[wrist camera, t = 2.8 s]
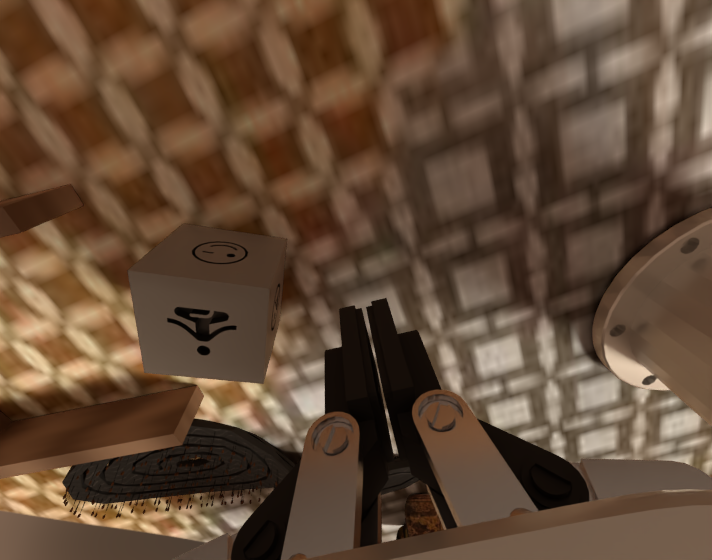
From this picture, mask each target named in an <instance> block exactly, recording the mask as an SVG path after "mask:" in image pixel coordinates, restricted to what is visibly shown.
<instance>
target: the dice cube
mask: <svg viewBox="0 0 712 560" xmlns="http://www.w3.org/2000/svg"><path fill="white" fill-rule="evenodd" d="M286 245H287V239H284V238H278V237H271V236H264V235H257V234H251V233H244V232H237V231H230V230H224V229H217V228H210V227H203V226H197V225H190V224H182V225H181V226H180V227H179V228H177V229H176V230H175V231H174V232H173V233H171V234H170V235H169V236H168V237H167V238H165V239H164V240H163V241H162V242H161V243H159V244H158V245H157V246H156V247H155V248H153V249H152V250H151V251H150V252H149V253H148V254H146V255H145V256H144V257H143V258H142V259H140V260H139V261H138V262H137V263H136V264H134V265H133V266H132V267H131V268H130V269H128V270H127V271H128V277H129V283H130V289H131V295H132V301H133V307H134V313H135V319H136V325H137V331H138V337H139V343H140V349H141V355H142V361H143V367H144V373H152V374H163V375H174V376H185V377H196V378H207V379H217V380H228V381H239V382H250V383H261V384H263V383H264V379H265V375H266V371H267V367H268V364H269V360H270V356H271V352H272V348H273V344H274V340H275V337H276V333H277V329H278V325H279V321H280V314H281V302H282V291H283V279H284V268H285V257H286Z"/></svg>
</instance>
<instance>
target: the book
mask: <svg viewBox="0 0 712 560" xmlns="http://www.w3.org/2000/svg"><path fill="white" fill-rule="evenodd" d="M405 516H406V518H405V521H406V524H405V525H403V526H402V527H400V528H399V530H398V533H397V537H396V540H399V539H404V538H408V537H413V536H418V535H423V534H428V533H433V532H438V531H443V530H444V529H443V526H442V524H441V521H440V519H439V517H438V514H437V512H436V510H435V507H434V505H433V502H432V500H431V498H430V495H429V494H415V495H410V496H409V497H408V498H407V501H406V504H405Z"/></svg>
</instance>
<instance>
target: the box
mask: <svg viewBox="0 0 712 560" xmlns="http://www.w3.org/2000/svg"><path fill="white" fill-rule="evenodd" d="M82 206H84V205H83V203H82V202H81V200H80V198H79V197H78V195H77V194H76V192H75V191H74V189H73V187H72V186H71V184H69V185H65V186H61V187H57V188H53V189H49V190H45V191H41V192H37V193H32V194H28V195H24V196H20V197H16V198H12V199H8V200H4V201H0V237H4V236H8V235H13V234H17V233H21V232H24V231H26V230H28V229H31V228H33V227H35V226H38V225H40V224H42V223H44V222H47V221H49V220H51V219H54V218H56V217H58V216H61V215H63V214H65V213H68V212H70V211H72V210H75V209H77V208H79V207H82ZM203 397H204V395H203V394H202V392H201V390H200V389H199V387H198V386H197V385H196V386H191V387H186V388H181V389H176V390H171V391H166V392H161V393H156V394H151V395H146V396H140V397H135V398H130V399H125V400H120V401H115V402H110V403H105V404H100V405H95V406H90V407H85V408H79V409H74V410H69V411H64V412H59V413H54V414H49V415H44V416H39V417H34V418H29V419H24V420H18V421H13V422H12V421H11V420H9V419H8V418H7V417H6V416H5V415H4V414H3V413H2V412H1V411H0V479H2V478H7V477H12V476H18V475H23V474H29V473H34V472H39V471H45V470H50V469H56V468H61V467H66V466H72V465H77V464H83V463H88V462H93V461H99V460H104V459H110V458H115V457H120V456H126V455H131V454H137V453H142V452H147V451H153V450H158V449H164V448H169V447H174V446H180V445H182V444H183V442H184V440H185V437H186V435H187V433H188V431H189V428H190V426H191V424H192V422H193V419H194V417H195V415H196V413H197V411H198V408H199V406H200V404H201V402H202V399H203Z"/></svg>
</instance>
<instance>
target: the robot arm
mask: <svg viewBox="0 0 712 560" xmlns="http://www.w3.org/2000/svg"><path fill="white" fill-rule="evenodd" d="M371 303H372V306H368V307H366V309H367V314H368V319H369V324H370V329H371V333H372V338H373V343H374V348H375V353H376V358H377V363H378V368H379V373H380V378H381V383H382V388H383V392H384V397H385V401H386V405H387V409H388V413H389V417H390V421H391V425H392V429H393V433H394V437H395V441H396V445H397V449H398V453H399V457H400V461H401V460H405V459H408V463H409V467H410V472H411V475H413V476H414V477H416V478H417V479H419V480H421V481H422V482H424V483H425V484H426V487H427V490H428V493H429V495H430V498H431V500H432V502H433V505H434V507H435V510H436V512H437V514H438V517H439V519H440V521H441V524H442V526H443V529H444V530H443V531H438V532H433V533H428V534H423V535H418V536H413V537H408V538H404V539H399V540H394V541H389V542H384V543H382V517H381V493H380V492H381V490H382V489H383V487H384V486H385V484H386V483H387V481H388V480H389V477H388V475H390V472H389V466H388V463H391V462H395V461H394V455H393V450H392V445H391V440H390V435H389V429H388V424H387V419H386V414H385V409H384V404H383V399H382V393H381V388H380V383H379V378H378V373H377V368H376V364H375V360H374V356H373V352H372V348H371V344H370V340H369V336H368V332H367V328H366V324H365V320H364V316H363V312H362V308H359V309H356V308H355V305H354V306H349V307H345V308H341V309H339V313H340V326H341V340H342V347H338V348H334V349H329V350H325V415H323V416H321V417H320V418H319V419H317V420H316V421H315V422H314V423H313V424H312V426H311V427H310V428H309V430H308V433H307V435H306V439H305V443H304V448H303V453H302V458H301V460H300V461H299V462H298V463H297V464H296V465H295V466H294V467H293V469H292V470H291V471H290V472H289V473H288V474H287V475H286V477H285V478H284V479H283V480H282V481H281V482H280V483H279V484H278V486H277V487H276V488H275V489H274V490H273V491H272V492H271V494H270V495H269V496H268V497H267V498H266V499H265V500H264V501H263V503H262V504H261V505H260V506H259V507H258V508H257V509H256V511H255V512H254V513H253V514H252V515H251V516H250V517H249V518H248V520H247V521H246V522H245V523H244V525H243V526H242V527H241V529H240V530H239V532H238V533H236V534H234V535H231V536H230V535H229V534H228V533H226V534H224V535H222V536H220V537H218V538H216V539H213V540H211V541H209V542H207V543H205V544H203V545H201V546H199V547H197V548H195V549H192V550H190V551H188V552H186V553H184V554H182V555H180V556H178V557H176V558H173V559H171V560H712V477H710V476H709V475H707V474H706V473H704V472H703V471H701V470H700V469H697V468H695V467H693V466H690V465H688V464H685V463H681V462H675V461H658V460H617V459H581V462H580V463H571V462H568V461H566V460H564V459H563V458H561V457H559V456H557V455H555V454H553V453H551V452H549V451H546V450H544V449H542V448H540V447H538V446H536V445H533V444H531V443H529V442H527V441H525V440H522V439H520V438H518V437H516V436H514V435H512V434H509V433H507V432H505V431H503V430H501V429H499V428H496V427H494V426H492V425H490V424H488V423H485V422H483V421H481V420H479V419H477V418H476V417H475V415H474V414H473V412H472V411H471V409H470V408H469V406H468V405H467V403H466V402H465V401H464V400H463V399H462V398H461V397H460V396H458V395H457V394H455V393H454V392H450V391H447V390H441V387H440V385H439V382H438V380H437V377H436V375H435V372H434V370H433V367H432V365H431V362H430V360H429V357H428V355H427V352H426V350H425V347H424V345H423V342H422V340H421V337H420V335H419V332H418V331H417V330H414V331H410V332H405V333H401V334H397V331H396V328H395V324H394V321H393V318H392V315H391V311H390V308H389V305H388V302H387V299H386V298H384V299H380V300H376V301H371ZM592 336H593V345H594V348H595V351H596V354H597V356H598V357H599V359H600V360H601V362H602V363H603V364H604V365H605V366H606V367H607V368H608V369H609V370H610V371H611V372H612V373H613V374H614V375H615V376H616V377H617V378H618V379H620V380H622V381H624V382H626V383H627V384H629V385H632V386H635V387H639V388H643V389H653V390H671V391H672V392H673V393H674V394H675V395H677V396H678V397H679V398H680V399H681V400H682V401H683V402H684V403H686V404H687V405H688V406H689V407H690V408H691V409H692V410H693V411H695V412H696V413H697V414H698V415H699V416H700V417H701V418H702V419H704V420H705V421H706V422H707V423H708V424H709V425H710V426H711V427H712V208H709V209H707V210H704V211H701V212H699V213H697V214H695V215H693V216H691V217H689V218H687V219H686V220H684V221H682V222H680V223H678V224H676V225H674V226H673V227H671V228H670V229H668V230H667V231H665V232H664V233H662V234H661V235H659V236H658V237H657V238H655V239H654V240H652V241H651V242H650V243H649V244H647V245H646V246H645V247H644V248H643V249H642V250H641V251H639V252H638V253H637V254H636V255H635V256H634V257H632V259H631V260H630V261H629V262H628V263H627V264H626V265H625V266H624V267H623V269H622V270H621V271H620V272H619V273H618V274H617V275H616V277H615V278H614V280H613V281H612V283H611V284H610V286H609V287H608V289H607V290H606V292H605V293H604V295H603V297H602V300H601V302H600V304H599V306H598V308H597V311H596V314H595V318H594V323H593V327H592Z"/></svg>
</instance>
